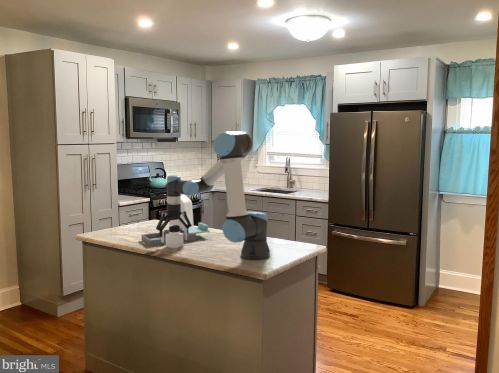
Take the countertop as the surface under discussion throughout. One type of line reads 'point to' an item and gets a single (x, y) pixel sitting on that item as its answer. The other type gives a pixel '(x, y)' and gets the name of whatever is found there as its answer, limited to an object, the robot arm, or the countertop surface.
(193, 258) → the countertop surface
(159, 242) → the housing
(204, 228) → the lid
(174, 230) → the medicine bottle
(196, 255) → the countertop surface
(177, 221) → the milk
